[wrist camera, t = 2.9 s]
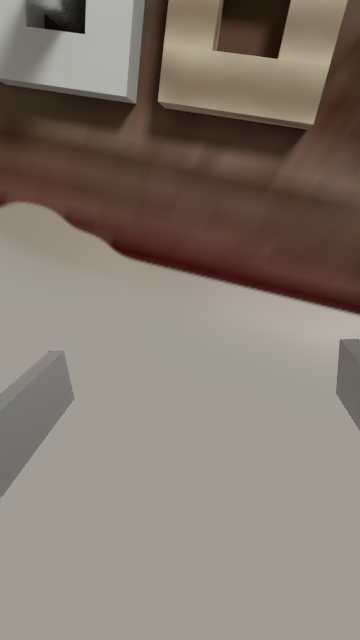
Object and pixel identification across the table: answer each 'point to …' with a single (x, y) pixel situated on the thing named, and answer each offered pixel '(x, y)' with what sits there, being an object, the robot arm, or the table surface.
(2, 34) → the mount block
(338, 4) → the block
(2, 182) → the table surface
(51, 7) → the pin
